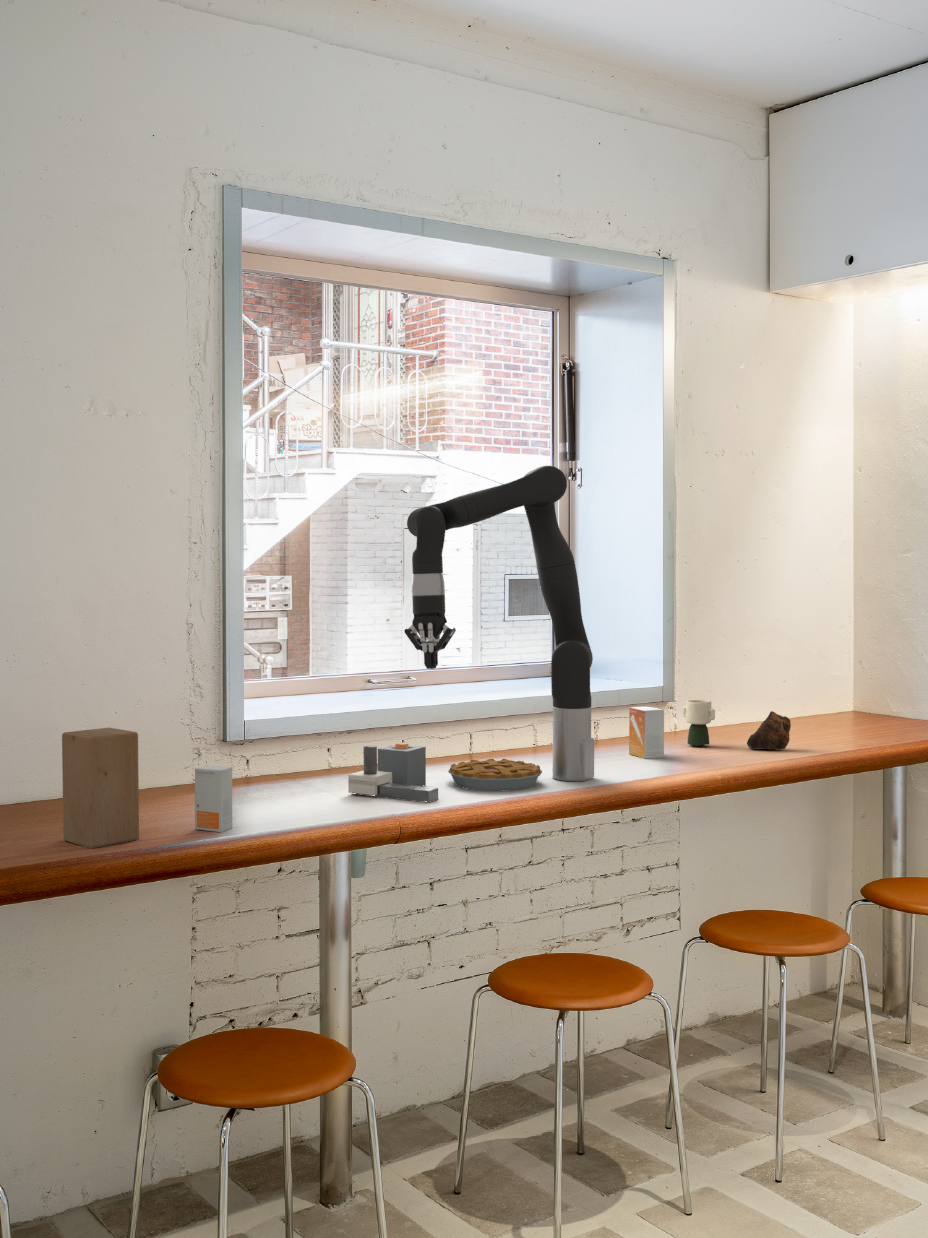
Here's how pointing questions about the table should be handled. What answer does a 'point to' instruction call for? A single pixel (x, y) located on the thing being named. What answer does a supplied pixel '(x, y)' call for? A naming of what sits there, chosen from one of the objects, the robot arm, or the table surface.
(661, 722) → the small box
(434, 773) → the table surface
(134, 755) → the wooden block
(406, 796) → the rail
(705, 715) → the character mug
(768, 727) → the decorative rock
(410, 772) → the grey cube-like block
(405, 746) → the button
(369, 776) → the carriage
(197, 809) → the skincare box
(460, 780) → the pie
